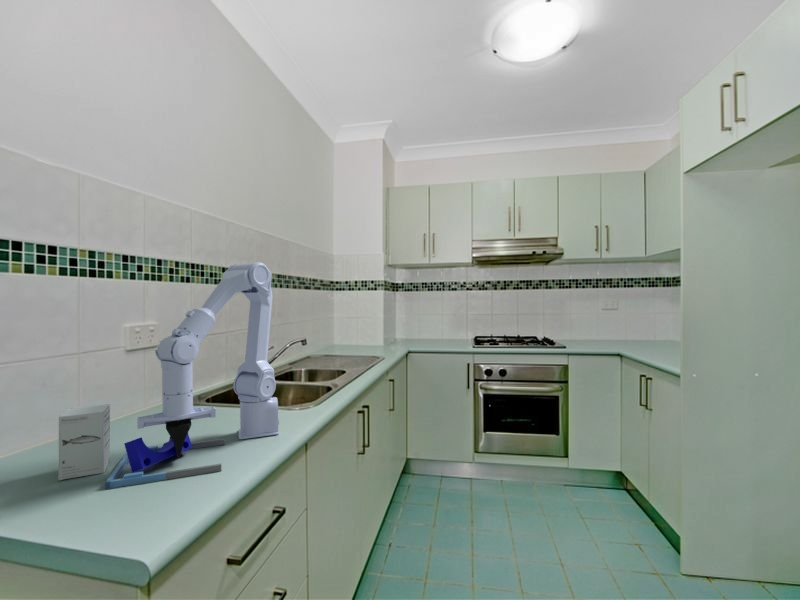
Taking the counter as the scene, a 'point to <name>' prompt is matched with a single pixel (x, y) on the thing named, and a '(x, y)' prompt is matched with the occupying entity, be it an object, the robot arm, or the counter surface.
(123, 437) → the counter surface
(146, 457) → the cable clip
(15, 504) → the counter surface
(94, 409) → the supplement box
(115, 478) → the blue grey open frame
